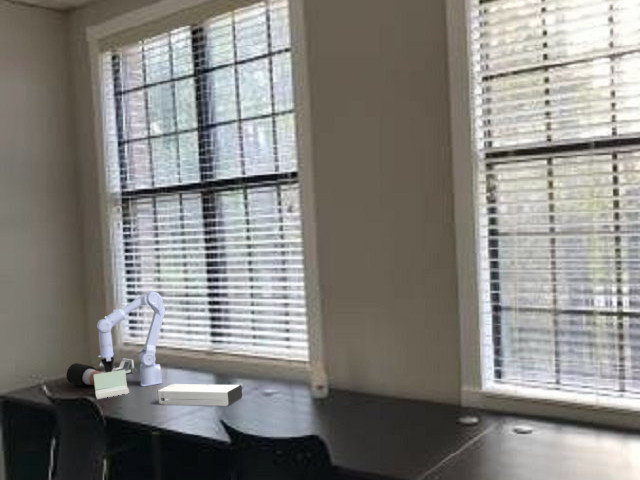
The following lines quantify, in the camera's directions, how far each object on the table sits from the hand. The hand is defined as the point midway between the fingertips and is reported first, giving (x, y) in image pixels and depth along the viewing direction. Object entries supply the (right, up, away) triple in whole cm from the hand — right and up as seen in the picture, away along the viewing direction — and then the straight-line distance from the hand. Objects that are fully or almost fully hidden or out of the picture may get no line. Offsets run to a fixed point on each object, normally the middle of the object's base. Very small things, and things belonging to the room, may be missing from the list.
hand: (108, 374), depth 326 cm
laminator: (+48, -6, -33) cm, 58 cm away
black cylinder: (-8, -9, +12) cm, 17 cm away
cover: (+2, -2, -4) cm, 5 cm away
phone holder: (-7, -8, +36) cm, 37 cm away
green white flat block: (+4, -8, -8) cm, 12 cm away
